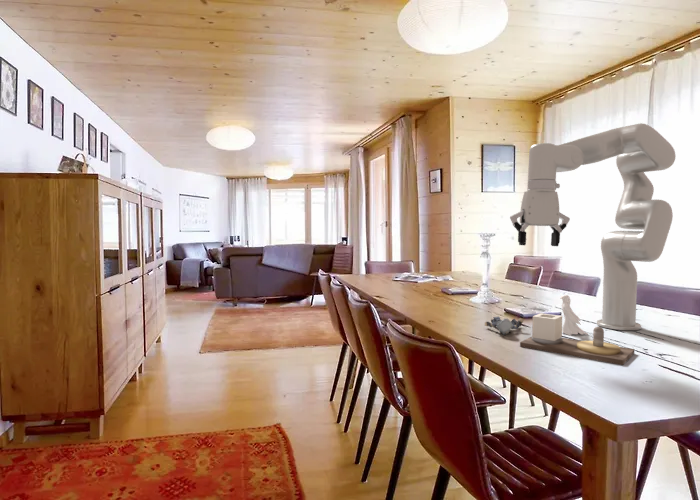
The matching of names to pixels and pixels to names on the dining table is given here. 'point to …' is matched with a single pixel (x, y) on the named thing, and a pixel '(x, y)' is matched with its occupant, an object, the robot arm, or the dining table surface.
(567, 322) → the figurine
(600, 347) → the workboard
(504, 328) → the toy
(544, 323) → the collar
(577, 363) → the dining table surface
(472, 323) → the dining table surface
